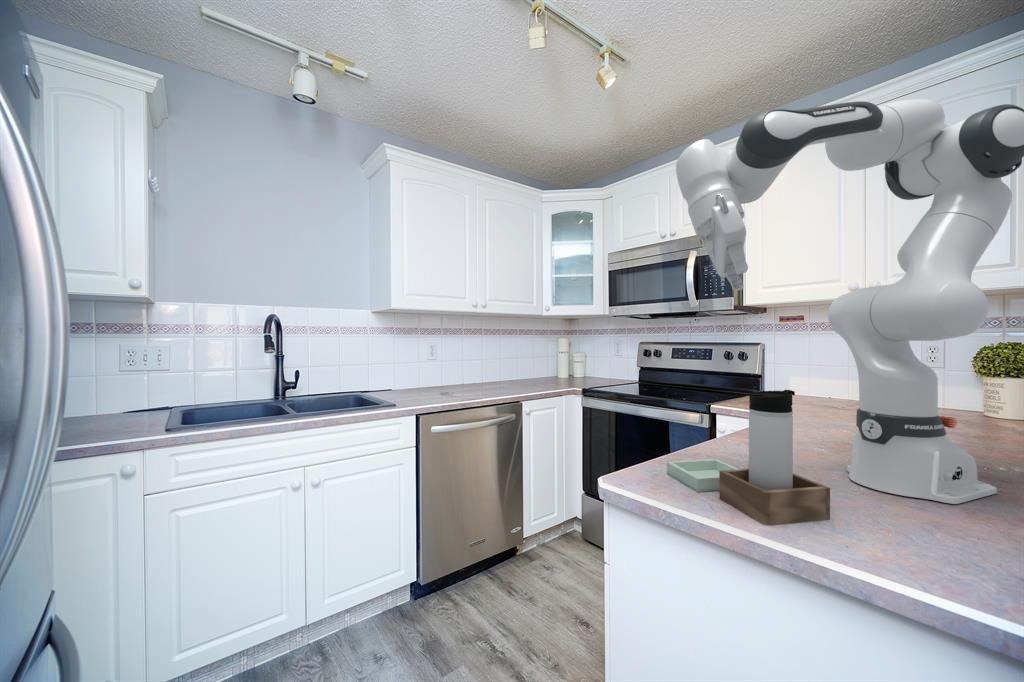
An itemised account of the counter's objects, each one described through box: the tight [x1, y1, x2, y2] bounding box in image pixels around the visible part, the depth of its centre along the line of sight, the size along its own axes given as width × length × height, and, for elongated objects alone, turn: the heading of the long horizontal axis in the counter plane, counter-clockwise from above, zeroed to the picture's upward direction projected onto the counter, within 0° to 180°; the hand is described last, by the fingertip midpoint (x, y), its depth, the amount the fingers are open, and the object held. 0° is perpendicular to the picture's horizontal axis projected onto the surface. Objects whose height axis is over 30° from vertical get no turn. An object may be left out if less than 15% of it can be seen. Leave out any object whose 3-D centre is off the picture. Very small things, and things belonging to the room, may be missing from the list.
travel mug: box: [748, 389, 796, 491], centre depth 69 cm, size 6×7×20 cm
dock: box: [666, 458, 740, 493], centre depth 83 cm, size 12×11×2 cm
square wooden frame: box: [718, 468, 831, 526], centre depth 69 cm, size 12×11×5 cm
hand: (740, 281), depth 76 cm, fingers open, 8 cm apart
